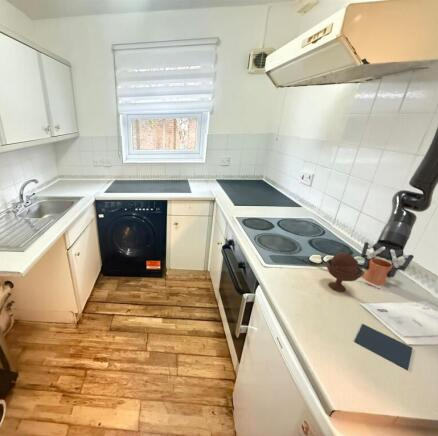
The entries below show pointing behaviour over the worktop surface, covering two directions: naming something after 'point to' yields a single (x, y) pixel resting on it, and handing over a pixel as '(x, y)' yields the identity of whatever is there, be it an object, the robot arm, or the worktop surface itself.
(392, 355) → the place mat
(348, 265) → the ice cream bowl
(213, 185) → the worktop surface
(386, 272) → the terracotta cup
